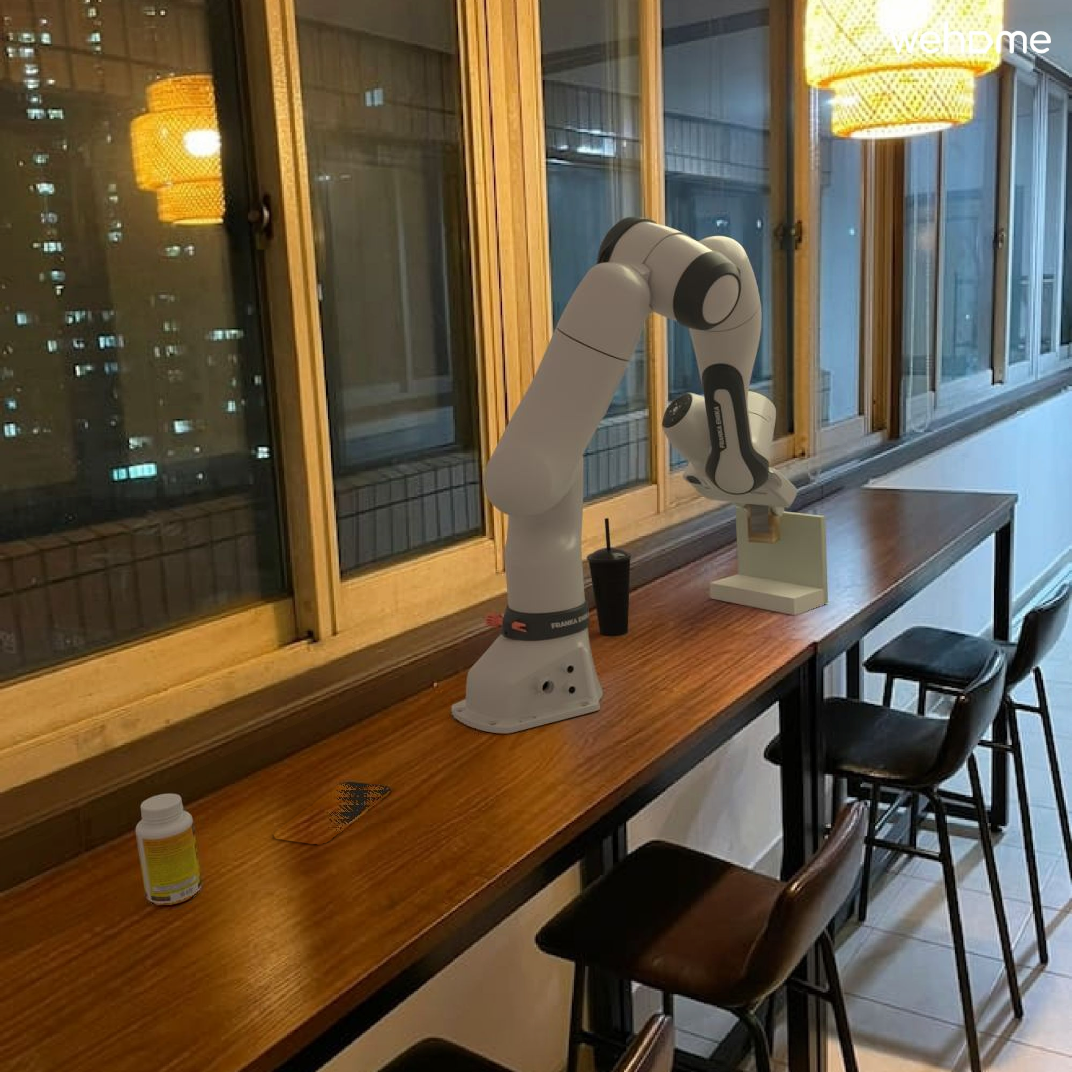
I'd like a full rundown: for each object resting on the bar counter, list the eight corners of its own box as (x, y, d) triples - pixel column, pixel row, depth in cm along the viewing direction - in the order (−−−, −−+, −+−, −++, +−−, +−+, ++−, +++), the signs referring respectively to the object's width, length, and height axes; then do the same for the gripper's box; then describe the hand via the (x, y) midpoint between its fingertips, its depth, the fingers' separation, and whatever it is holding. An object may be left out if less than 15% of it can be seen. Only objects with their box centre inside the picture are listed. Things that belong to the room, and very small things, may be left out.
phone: (268, 835, 128) (343, 780, 141) (269, 842, 128) (343, 786, 141) (323, 843, 125) (394, 786, 138) (324, 850, 125) (395, 793, 138)
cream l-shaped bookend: (794, 615, 199) (791, 525, 195) (710, 598, 214) (705, 514, 211) (828, 603, 204) (825, 516, 201) (743, 587, 220) (739, 506, 217)
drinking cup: (633, 638, 193) (626, 522, 189) (589, 638, 194) (580, 523, 190) (638, 625, 200) (631, 513, 196) (595, 626, 202) (587, 515, 198)
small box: (772, 543, 204) (770, 488, 202) (748, 542, 207) (745, 487, 205) (780, 539, 206) (777, 485, 204) (755, 538, 209) (753, 484, 207)
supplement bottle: (212, 892, 116) (199, 799, 114) (161, 914, 113) (146, 818, 111) (187, 875, 121) (174, 785, 119) (137, 896, 117) (122, 803, 115)
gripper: (779, 454, 191) (819, 502, 199) (691, 448, 207) (731, 493, 215) (763, 484, 189) (803, 531, 197) (675, 476, 205) (715, 520, 213)
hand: (765, 511), depth 206 cm, fingers closed on small box, 5 cm apart
